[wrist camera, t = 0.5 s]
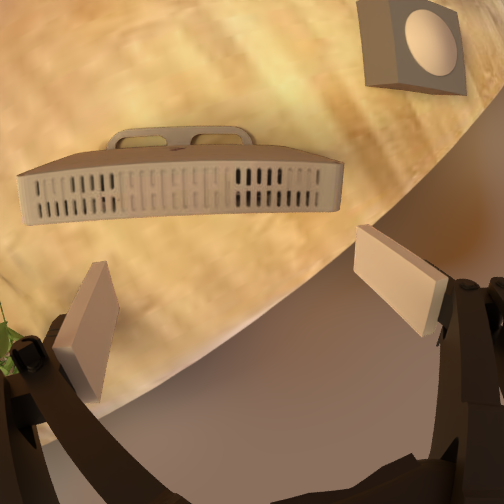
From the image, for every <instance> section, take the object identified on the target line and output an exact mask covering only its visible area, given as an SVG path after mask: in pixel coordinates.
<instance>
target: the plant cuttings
mask: <svg viewBox="0 0 504 504" xmlns="http://www.w3.org/2000/svg"><path fill="white" fill-rule="evenodd" d="M0 308H1V311H2V315H3V318H4V314H3V310H2V307H1V303H0ZM7 322H8V321H5V318H4V322H3V323H0V358H2V357H3V359H4V360H5V361H6V363H5V365H4V366H3V365H2V364H3V363H4V362H5V361H1V360H0V369H1V370H2V372H3V373H4V375H5V377H6V375H8V374H9V373H10V372H9V371H10V369H11V368H12V366H13V364H14V362H13V360H12V359H11V357H10V353H8V352H9V351H10V348H11V346H12V345H13V344H12V343H13V341H14V340H15V341H18V340H19V339H20V338H23V336H21V335H20V334H18V333H17V332H15V331H14V330H12V329H10V328H8V327H7V325H6V324H7ZM6 328H7V330H6ZM9 339H10V342H9ZM10 343H11V344H10ZM8 349H9V350H8ZM5 354H6V355H5ZM5 356H6V357H5ZM16 373H19V371H18V369H17V367H16V366H15V365H14V371H13V373H11V374H16Z"/></svg>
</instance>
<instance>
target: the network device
mask: <svg viewBox="0 0 504 504" xmlns="http://www.w3.org/2000/svg"><path fill="white" fill-rule="evenodd" d="M197 134H237V135H239V136H240V137H241V139H242V142H243V145H190V143H191V139H192V138H193V137H194V136H195V135H197ZM155 135H159V136H162V137H164V138H165V139H166V141H167V146H152V147H135V148H122V149H116V144H117V142H118V141H119V140H120V139H121V138H125V137H138V136H155ZM343 173H344V163H343V162H340V161H336V160H333V159H329V158H326V157H322V156H319V155H315V154H311V153H308V152H304V151H300V150H296V149H292V148H288V147H284V146H273V145H253V144H252V140H251V138H250V136H249V135H248V134H247V133H246V132H245V131H244V130H242V129H240V128H238V127H232V126H193V127H162V128H144V129H130V130H123V131H121V132H118V133H117V134H115V135H114V136H113V137H112V138H111V139H110V141H109V143H108V145H107V149H106V150H100V151H90V152H82V153H77V154H73V155H70V156H67V157H64V158H62V159H59V160H56V161H53V162H50V163H47V164H45V165H42V166H39V167H37V168H34V169H31V170H29V171H26V172H24V173H21V174H19V175H17V176H16V177H17V187H18V195H19V203H20V210H21V217H22V223H23V225H26V226H33V225H44V224H56V223H68V222H81V221H95V220H110V219H126V218H143V217H162V216H183V215H208V214H239V213H285V212H336V211H338V210H340V203H341V193H342V183H343Z"/></svg>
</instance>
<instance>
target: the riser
mask: <svg viewBox="0 0 504 504" xmlns="http://www.w3.org/2000/svg"><path fill="white" fill-rule="evenodd" d="M356 4H357V11H358V18H359V26H360V34H361V42H362V52H363V62H364V73H365V86H370V87H381V88H390V89H399V90H406V91H413V92H420V93H426V94H432V95H463V96H467V90H466V76H465V65H464V55H463V47H462V40H461V33H460V27H459V21H458V15H457V12H455V11H453V10H451V9H448V8H446V7H443V6H441V5H438V4H436V3H433V2H430V1H428V0H359V1H357V2H356Z"/></svg>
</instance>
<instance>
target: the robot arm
mask: <svg viewBox="0 0 504 504" xmlns="http://www.w3.org/2000/svg"><path fill="white" fill-rule="evenodd" d="M354 272H355V273H356V274H357V275H359V277H360V278H362V279H363V280H364V281H365V282H366V283H367V284H368V285H369V286H370V287H371V288H372V289H373V290H374V291H375V292H376V293H377V294H378V295H379V296H381V298H383V299H384V300H385V301H386V302H387V303H388V304H389V305H390V306H391V307H392V308H393V309H394V310H395V311H396V312H397V313H398V314H399V315H400V316H401V317H402V318H403V319H404V320H405V321H406V322H407V323H408V324H409V325H410V326H411V327H412V328H413V329H414V330H415V331H416V332H417V333H418V334H419V335H420V336H421V337H424V336H427V335H429V334H432V333H434V332H435V328H436V325H437V322H440V323H441V324H442V325H443V326H442V329H441V333H440V336H439V339H438V342H437V345H436V346H439V344H440V368H439V385H438V398H437V407H436V416H435V424H434V432H433V439H432V445H431V451H430V454H429V458H428V459H422V460H416V459H415V457H414V455H413V454H412V453H411V454H409V455H407V456H404V457H402V458H401V459H398V460H396V461H394V462H392V463H389V464H387V465H385V466H383V467H381V468H380V469H378V470H377V471H376V472H374V473H373V474H371V475H370V476H369V477H367V478H366V479H364V480H363V481H361V482H360V483H359V484H357V485H356V486H354V487H352V488H349V489H344V490H336V491H325V492H315V493H307V494H304V495H300V496H296V497H292V498H289V499H285V500H280V501H276V502H272V503H270V504H504V405H501V403H500V392H499V387H500V390H501V392H502V395H503V398H504V278H503V277H493V278H491V280H490V283H489V287H487V288H480V286H479V285H478V284H477V283H475V282H474V281H472V280H468V279H457V280H454V279H453V278H452V277H450V276H449V275H447V274H446V273H444V272H443V271H442V270H439V268H437V267H436V266H434V265H433V264H431V263H430V262H428V261H427V260H424V259H422V258H420V257H418V256H417V255H415V254H413V253H412V252H410V251H409V250H408V249H406V248H405V247H403V246H402V245H400V244H398V243H397V242H395V241H394V240H392V239H391V238H389V237H388V236H386V235H384V234H383V233H381V232H380V231H378V230H377V229H375V228H373V227H372V226H370V225H369V224H367V225H359V226H357V229H356V246H355V259H354ZM119 309H120V307H119V304H118V301H117V297H116V294H115V291H114V287H113V283H112V280H111V276H110V272H109V269H108V265H107V261H102V262H96V263H92V265H91V267H90V269H89V271H88V273H87V274H86V276H85V278H84V280H83V282H82V284H81V286H80V288H79V290H78V292H77V294H76V296H75V298H74V300H73V302H72V304H71V307H70V309H69V311H68V313H67V314H62V315H59V316H58V317H57V318H56V319H55V320H54V321H53V322H52V324H51V326H50V328H49V331H48V332H47V334H46V337H45V339H44V341H43V343H42V342H41V340H40V338H38V337H37V336H33V335H31V336H25V337H23V338H20V339H19V340H18V341H16V342H15V343H14V344H13V345H12V346H11V348H10V351H9V353H10V357H11V359H12V360H13V362H14V364H15V366H16V367H17V369H18V371H19V373H16V374H13V375H10V376H6V377H5V375H4V373H3V372H2V370H1V369H0V504H60V503H59V501H58V498H57V495H56V493H55V490H54V487H53V484H52V481H51V478H50V475H49V472H48V468H47V465H46V462H45V459H44V455H43V452H42V448H41V444H40V440H39V436H38V431H37V427H36V425H37V424H41V423H44V422H47V423H48V425H49V426H50V428H51V430H52V431H53V433H54V434H55V436H56V437H57V439H58V440H59V442H60V443H61V445H62V446H63V448H64V449H65V451H66V452H67V454H68V455H69V456H70V458H71V459H72V461H73V462H74V463H75V465H76V466H77V467H78V468H79V470H80V471H81V473H82V474H83V475H84V476H85V478H86V479H87V480H88V481H89V483H90V484H91V485H92V486H93V488H94V489H95V490H96V491H97V493H98V494H99V495H100V496H101V497H102V498H103V499H104V501H105V502H106V503H107V504H191V503H190V502H188V501H187V500H186V499H185V498H183V497H182V496H180V495H179V494H177V493H173V492H171V491H170V490H169V489H168V488H166V487H165V486H164V485H163V484H162V483H161V482H159V481H158V480H157V479H156V478H155V477H154V476H153V475H152V474H150V473H149V472H148V471H147V470H146V469H145V468H144V467H143V466H142V465H141V464H140V463H139V462H138V461H137V460H136V459H134V458H133V457H132V456H131V455H130V454H129V453H128V452H127V451H126V450H125V449H124V448H123V447H122V446H121V445H120V443H118V441H116V439H115V438H114V437H113V436H112V435H111V434H110V433H109V432H108V431H107V430H106V429H105V427H104V426H103V425H102V424H101V423H100V422H99V421H98V420H97V418H96V417H95V416H94V415H93V414H92V413H91V411H90V410H89V409H88V408H87V407H86V406H85V404H84V403H100V399H101V393H102V388H103V382H104V377H105V372H106V367H107V362H108V357H109V352H110V347H111V343H112V338H113V334H114V330H115V325H116V321H117V317H118V313H119ZM502 321H503V326H501V324H502Z"/></svg>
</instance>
